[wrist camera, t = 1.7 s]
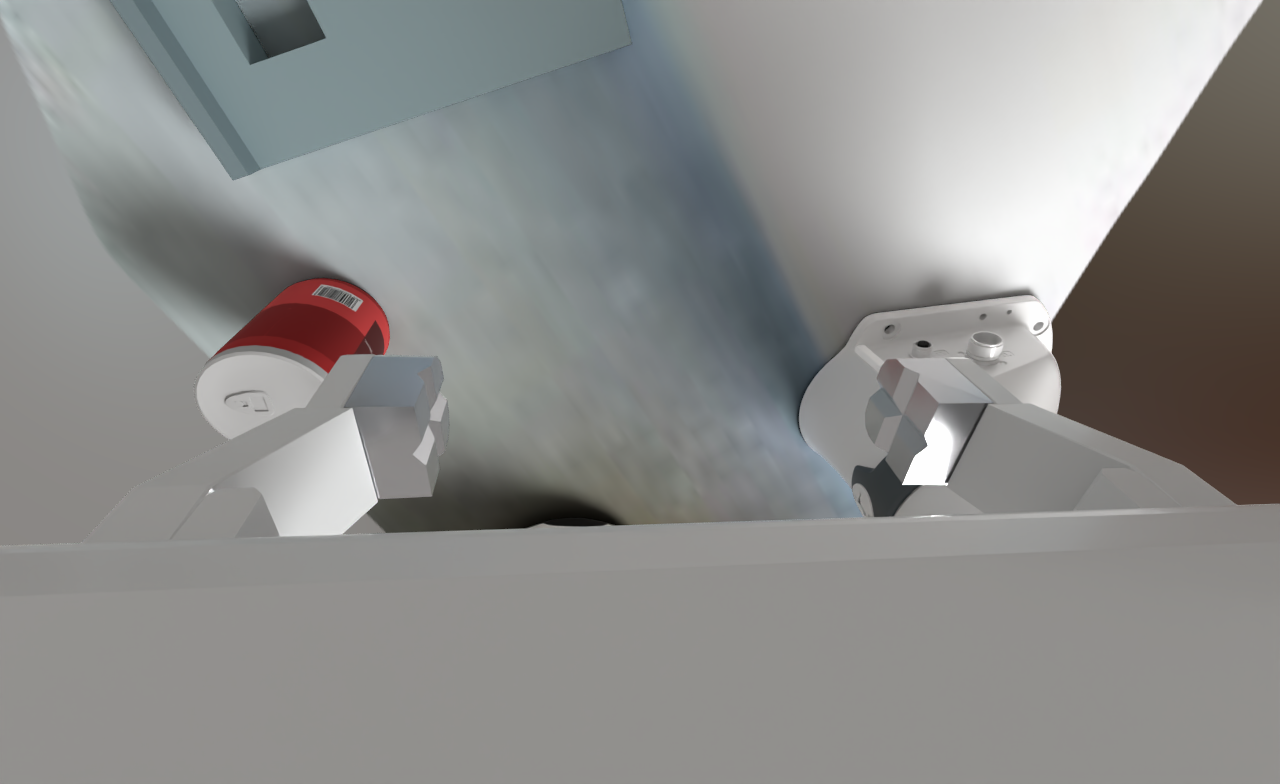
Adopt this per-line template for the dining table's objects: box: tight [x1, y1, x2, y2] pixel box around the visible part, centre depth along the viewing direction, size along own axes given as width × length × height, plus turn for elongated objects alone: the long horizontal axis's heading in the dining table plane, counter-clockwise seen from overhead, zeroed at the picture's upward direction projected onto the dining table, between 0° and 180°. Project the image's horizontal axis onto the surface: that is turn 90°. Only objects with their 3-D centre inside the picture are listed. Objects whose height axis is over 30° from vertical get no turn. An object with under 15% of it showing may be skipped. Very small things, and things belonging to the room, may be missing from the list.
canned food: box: [194, 278, 390, 440], centre depth 37 cm, size 8×8×11 cm
